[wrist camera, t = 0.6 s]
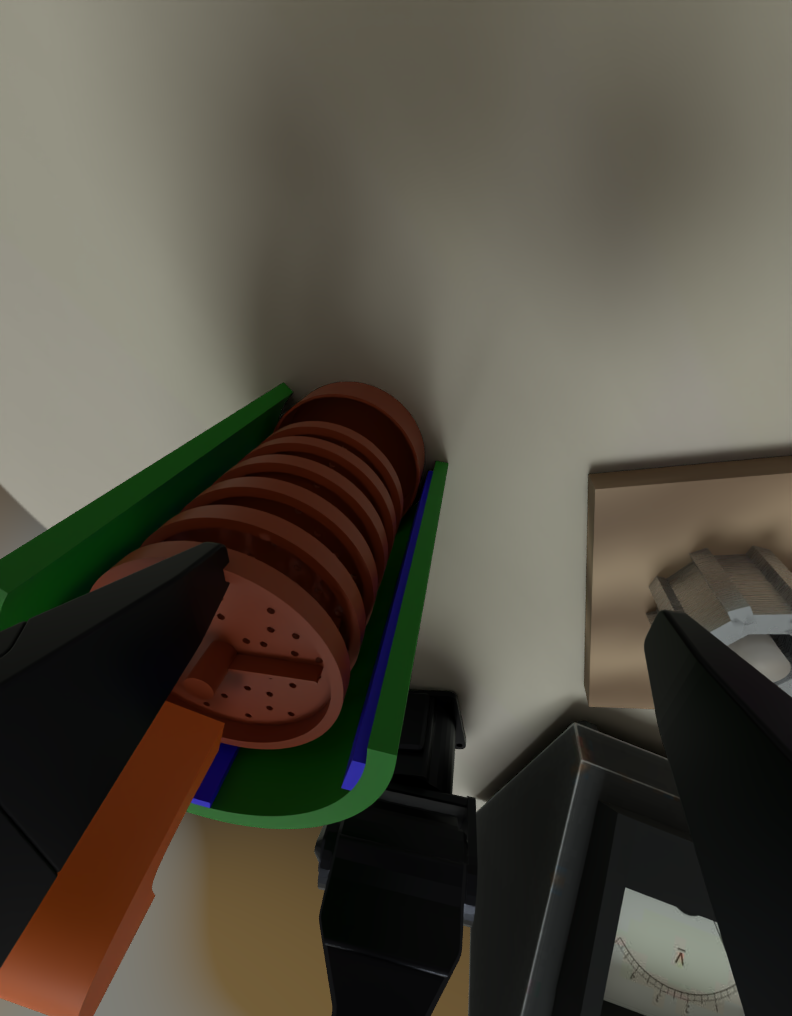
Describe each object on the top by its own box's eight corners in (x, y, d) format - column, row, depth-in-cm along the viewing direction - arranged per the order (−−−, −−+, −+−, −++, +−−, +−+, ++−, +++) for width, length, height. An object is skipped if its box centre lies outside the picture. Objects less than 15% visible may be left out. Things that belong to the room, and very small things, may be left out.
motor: (464, 404, 21) (369, 1048, 4) (427, 548, 26) (314, 1118, 9) (265, 361, 22) (-516, 764, 5) (265, 509, 26) (-124, 970, 10)
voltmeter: (779, 782, 31) (1129, 1425, 14) (635, 859, 40) (743, 1310, 23) (573, 700, 30) (679, 1266, 14) (473, 797, 39) (463, 1212, 22)
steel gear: (780, 644, 23) (830, 713, 19) (642, 644, 24) (666, 707, 21) (813, 542, 20) (881, 603, 16) (652, 550, 21) (683, 607, 18)
